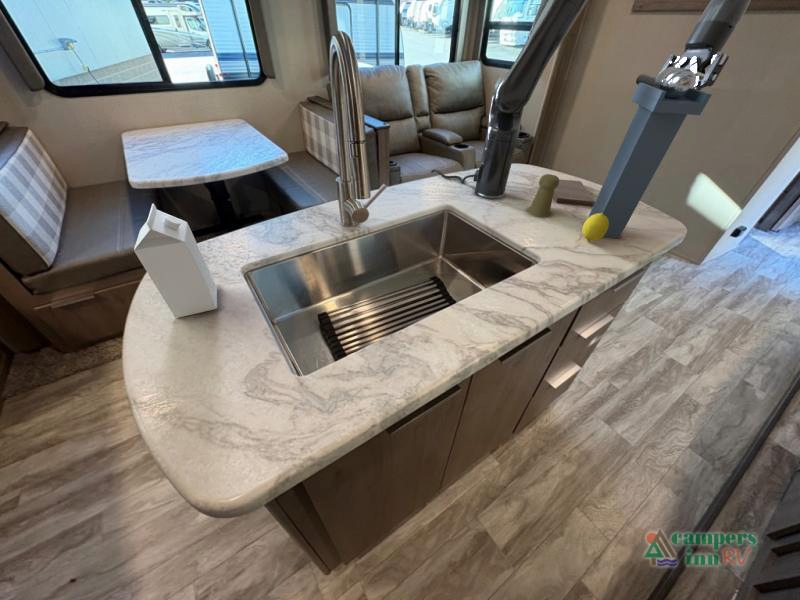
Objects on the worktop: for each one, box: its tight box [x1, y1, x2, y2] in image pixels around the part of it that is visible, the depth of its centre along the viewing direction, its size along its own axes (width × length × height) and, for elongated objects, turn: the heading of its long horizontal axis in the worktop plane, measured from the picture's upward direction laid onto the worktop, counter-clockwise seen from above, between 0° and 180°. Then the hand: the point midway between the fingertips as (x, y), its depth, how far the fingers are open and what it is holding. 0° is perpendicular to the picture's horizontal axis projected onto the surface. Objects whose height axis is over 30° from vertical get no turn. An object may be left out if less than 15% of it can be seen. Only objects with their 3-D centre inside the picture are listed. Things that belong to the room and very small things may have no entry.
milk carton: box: [133, 203, 218, 319], centre depth 57 cm, size 7×7×19 cm
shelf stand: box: [587, 83, 712, 239], centre depth 78 cm, size 12×9×34 cm
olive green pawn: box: [528, 173, 560, 218], centre depth 93 cm, size 6×6×11 cm
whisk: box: [635, 67, 697, 99], centre depth 71 cm, size 21×5×5 cm, turn 170°
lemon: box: [581, 213, 609, 242], centre depth 82 cm, size 6×6×8 cm
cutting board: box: [553, 178, 595, 207], centre depth 108 cm, size 17×11×2 cm, turn 170°
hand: (669, 104), depth 82 cm, fingers open, 8 cm apart
